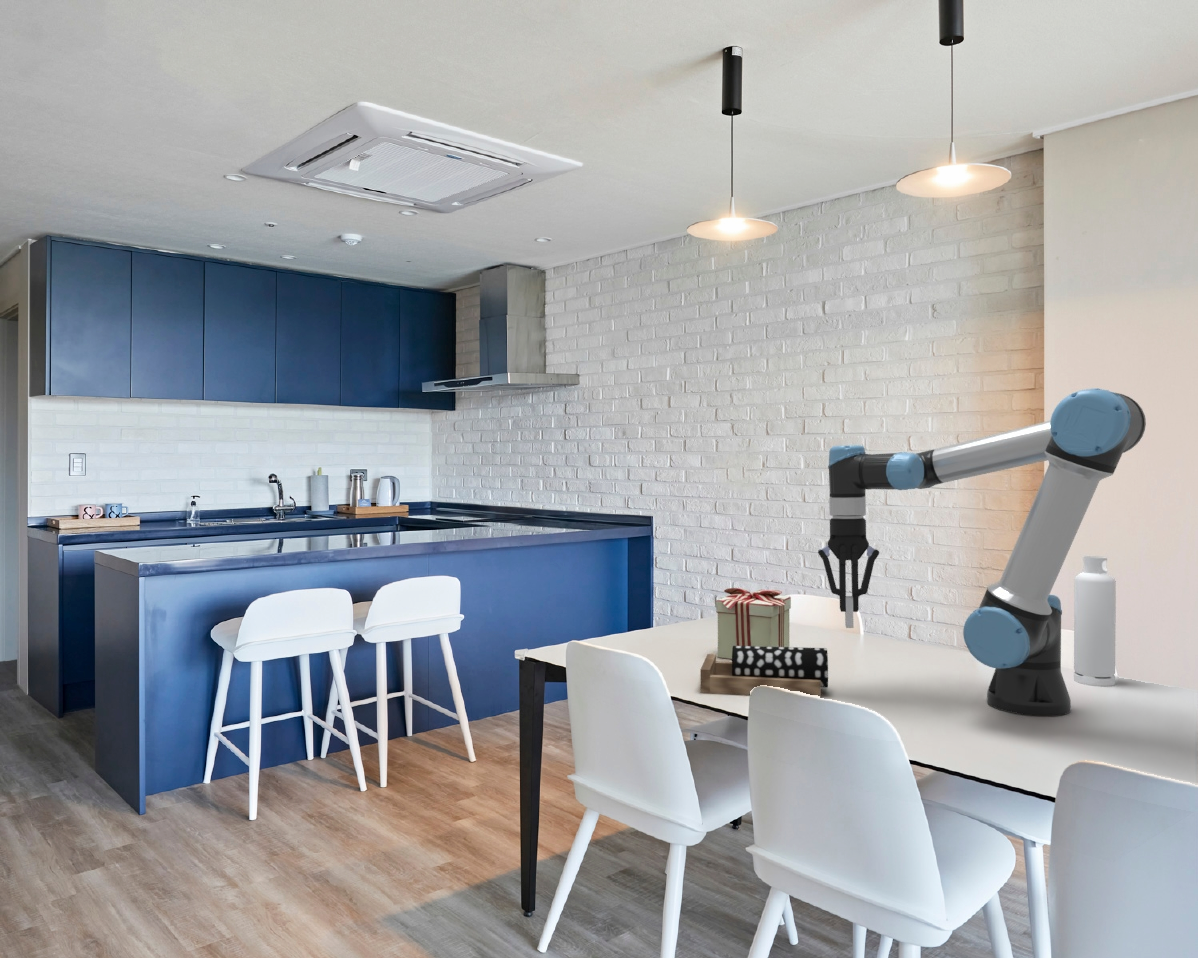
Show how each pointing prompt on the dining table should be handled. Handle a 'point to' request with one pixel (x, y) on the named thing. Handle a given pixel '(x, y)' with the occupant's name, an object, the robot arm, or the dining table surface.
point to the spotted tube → (781, 662)
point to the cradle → (746, 680)
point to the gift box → (752, 620)
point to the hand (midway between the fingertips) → (849, 626)
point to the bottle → (1094, 624)
